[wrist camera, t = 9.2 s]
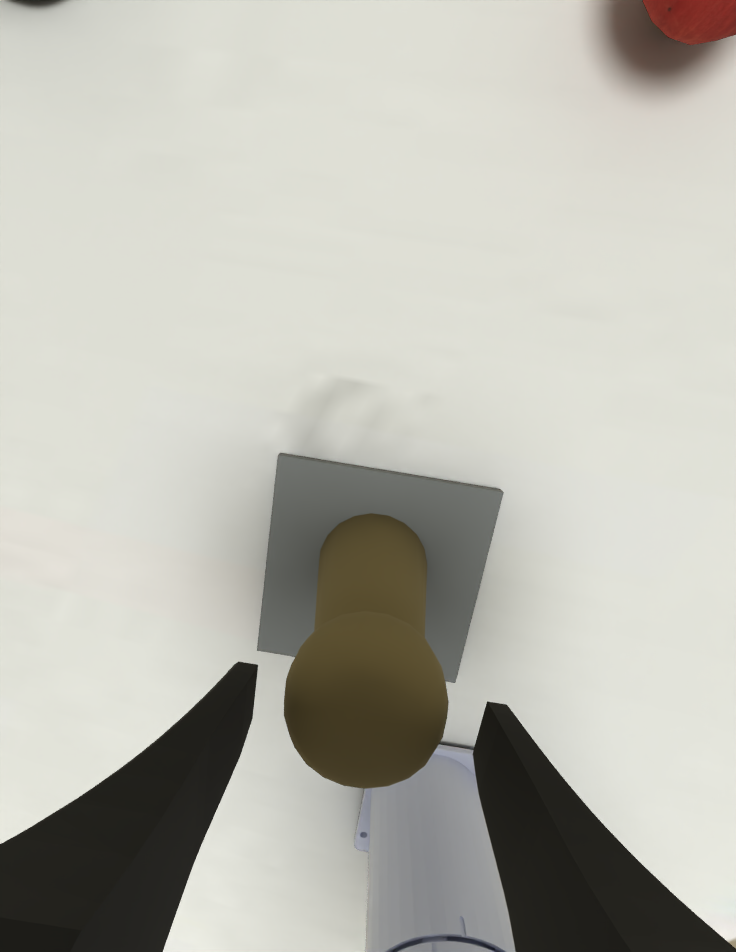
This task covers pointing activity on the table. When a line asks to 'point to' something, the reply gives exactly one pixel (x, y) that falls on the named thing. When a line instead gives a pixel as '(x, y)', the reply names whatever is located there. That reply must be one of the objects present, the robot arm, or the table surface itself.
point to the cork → (368, 660)
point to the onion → (693, 19)
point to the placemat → (387, 493)
